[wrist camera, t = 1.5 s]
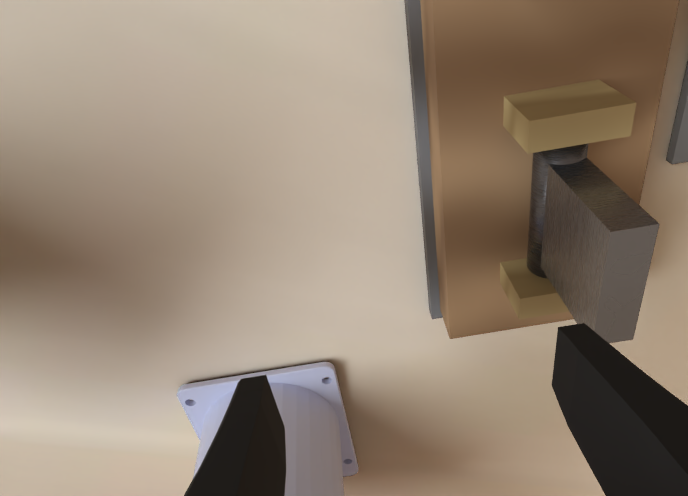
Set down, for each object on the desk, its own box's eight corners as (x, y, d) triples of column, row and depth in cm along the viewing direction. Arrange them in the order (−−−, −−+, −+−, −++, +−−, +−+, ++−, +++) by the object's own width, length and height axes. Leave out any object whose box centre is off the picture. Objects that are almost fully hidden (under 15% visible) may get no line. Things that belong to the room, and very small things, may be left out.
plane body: (598, 283, 24) (654, 356, 20) (429, 310, 25) (453, 388, 21) (716, -456, 12) (917, -625, 8) (373, -386, 12) (408, -517, 8)
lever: (562, 249, 20) (636, 350, 15) (520, 256, 20) (583, 358, 15) (575, 124, 17) (671, 205, 12) (526, 133, 17) (605, 216, 13)
